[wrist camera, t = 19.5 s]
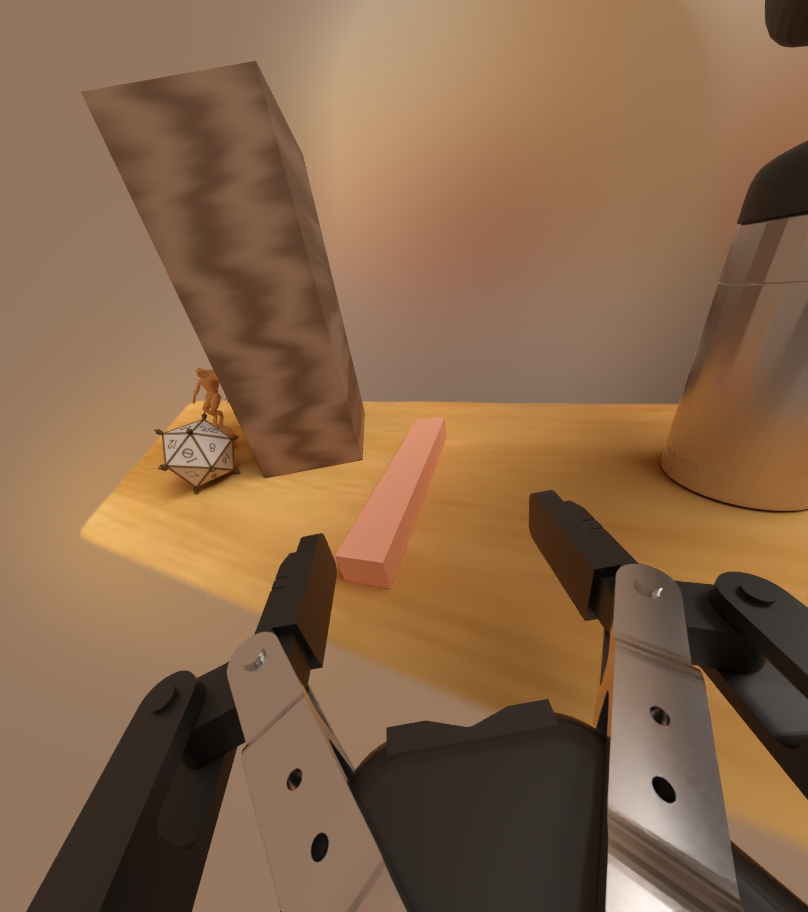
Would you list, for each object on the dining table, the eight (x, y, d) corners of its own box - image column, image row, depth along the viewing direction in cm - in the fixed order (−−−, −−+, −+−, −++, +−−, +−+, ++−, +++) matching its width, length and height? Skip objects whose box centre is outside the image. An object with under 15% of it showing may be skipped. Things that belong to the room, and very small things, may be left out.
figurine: (197, 454, 46) (153, 378, 40) (230, 436, 50) (194, 365, 44) (234, 458, 42) (191, 375, 36) (265, 438, 47) (231, 362, 41)
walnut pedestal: (364, 412, 50) (302, 154, 34) (362, 459, 36) (255, 60, 20) (294, 425, 50) (199, 173, 34) (265, 477, 36) (81, 91, 20)
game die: (234, 493, 41) (240, 422, 42) (243, 497, 34) (251, 412, 35) (150, 492, 36) (159, 411, 37) (141, 496, 29) (153, 397, 30)
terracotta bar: (446, 439, 38) (444, 418, 36) (391, 592, 20) (382, 562, 19) (420, 439, 39) (417, 418, 38) (346, 584, 21) (334, 555, 20)
